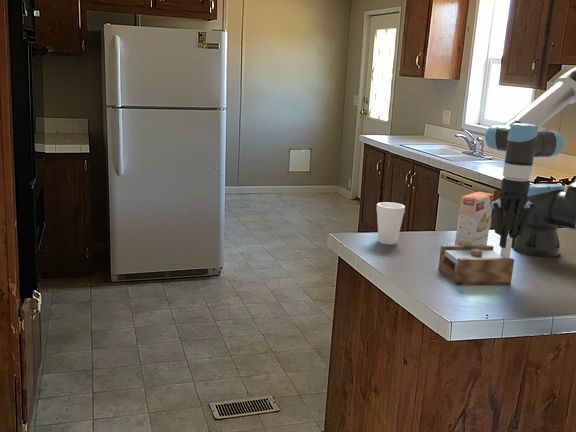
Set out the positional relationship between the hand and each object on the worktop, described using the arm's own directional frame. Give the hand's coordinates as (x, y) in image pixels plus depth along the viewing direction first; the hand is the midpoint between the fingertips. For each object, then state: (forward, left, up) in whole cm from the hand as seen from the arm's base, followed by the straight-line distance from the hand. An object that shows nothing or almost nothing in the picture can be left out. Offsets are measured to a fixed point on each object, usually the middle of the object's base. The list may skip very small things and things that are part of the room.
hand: (504, 258), depth 175 cm
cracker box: (+2, -18, -6) cm, 19 cm away
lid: (+9, 0, -1) cm, 9 cm away
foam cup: (+24, -36, -6) cm, 44 cm away
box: (+9, 0, -6) cm, 11 cm away
